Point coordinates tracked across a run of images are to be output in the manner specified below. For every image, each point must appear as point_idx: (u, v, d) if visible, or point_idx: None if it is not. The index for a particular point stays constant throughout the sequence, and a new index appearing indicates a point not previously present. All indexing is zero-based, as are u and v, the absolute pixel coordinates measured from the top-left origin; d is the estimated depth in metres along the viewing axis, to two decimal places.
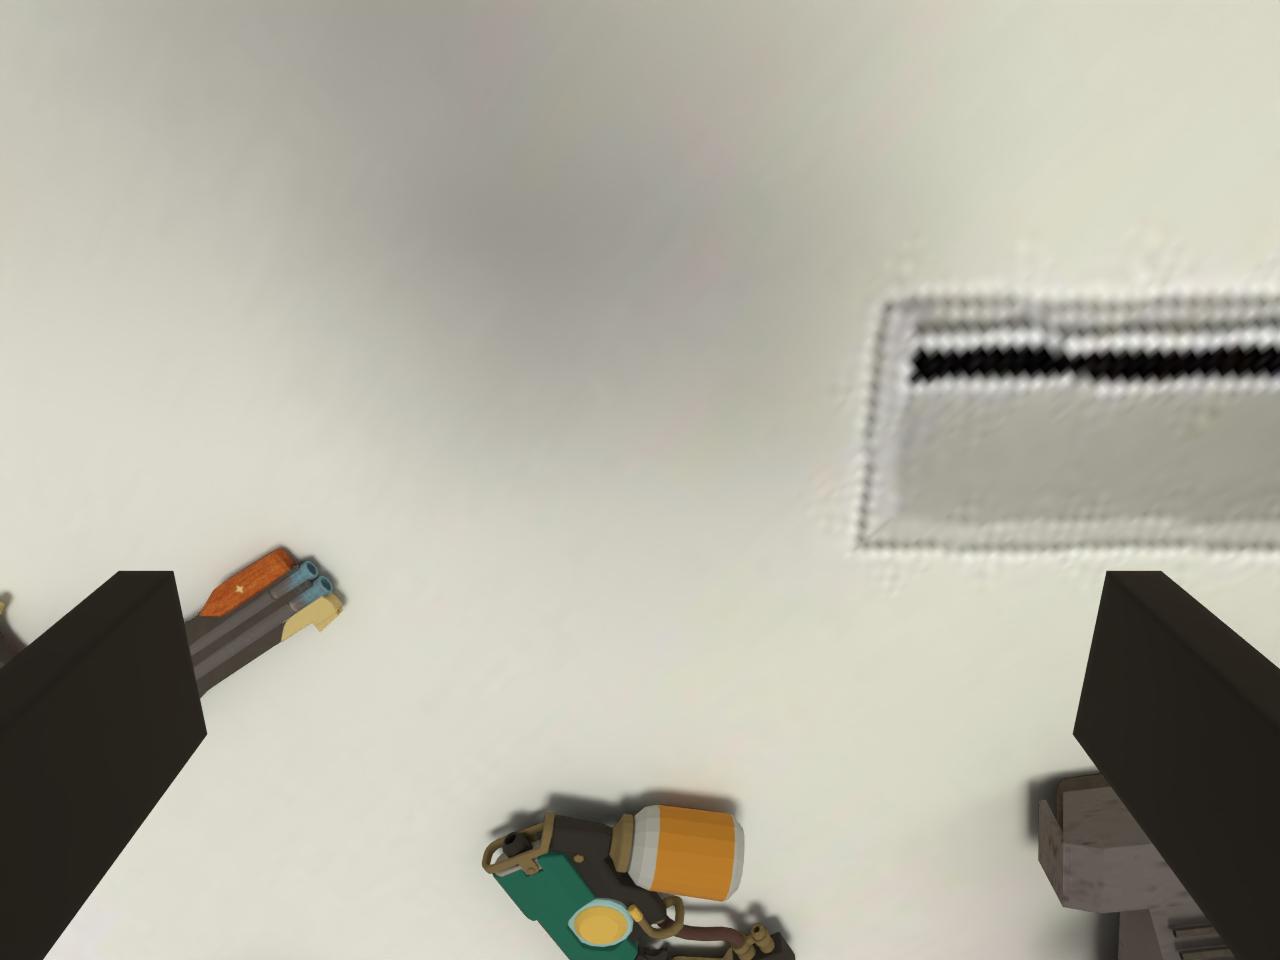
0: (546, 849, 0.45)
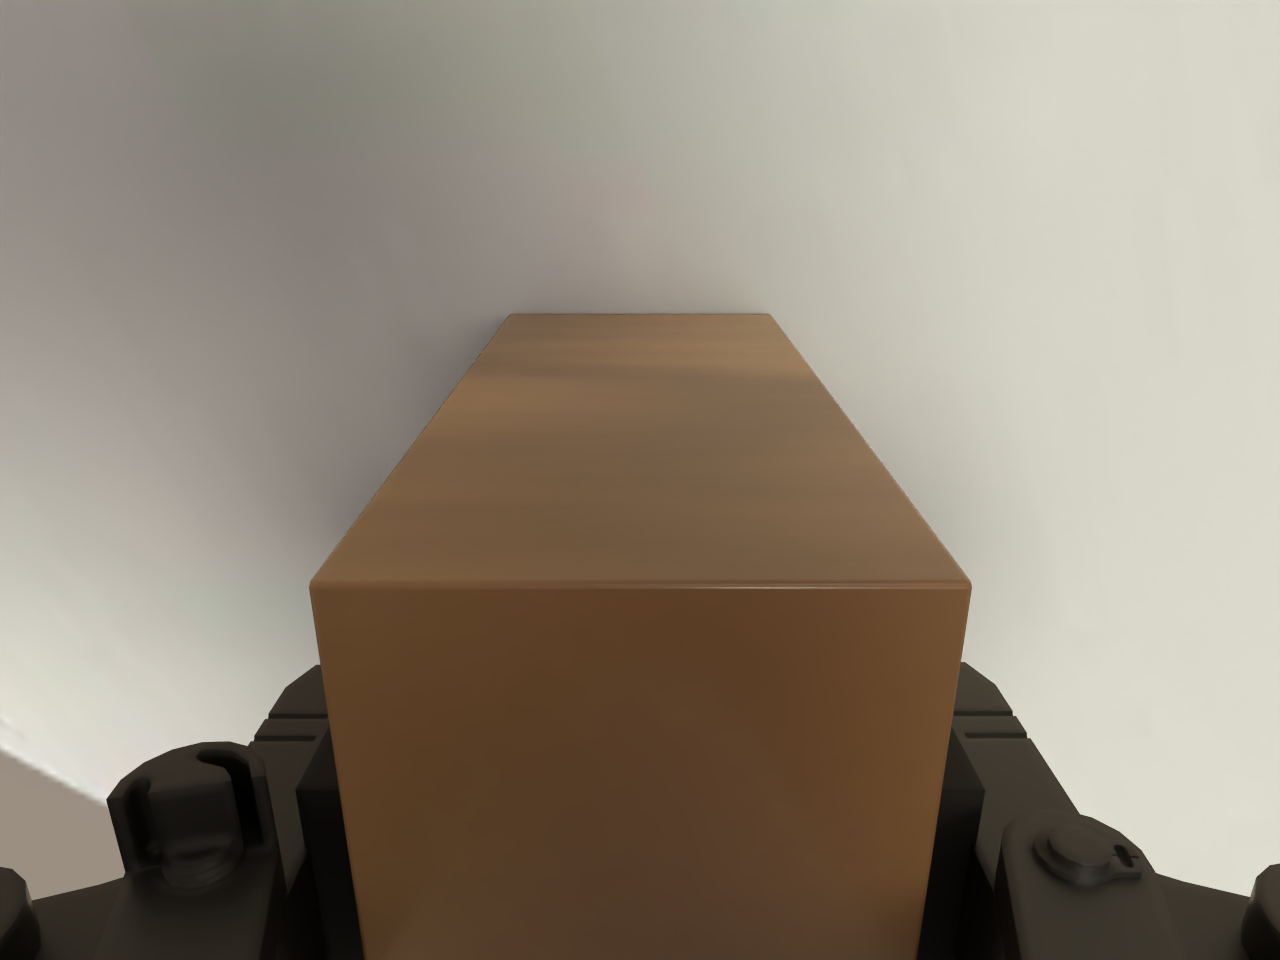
0: None
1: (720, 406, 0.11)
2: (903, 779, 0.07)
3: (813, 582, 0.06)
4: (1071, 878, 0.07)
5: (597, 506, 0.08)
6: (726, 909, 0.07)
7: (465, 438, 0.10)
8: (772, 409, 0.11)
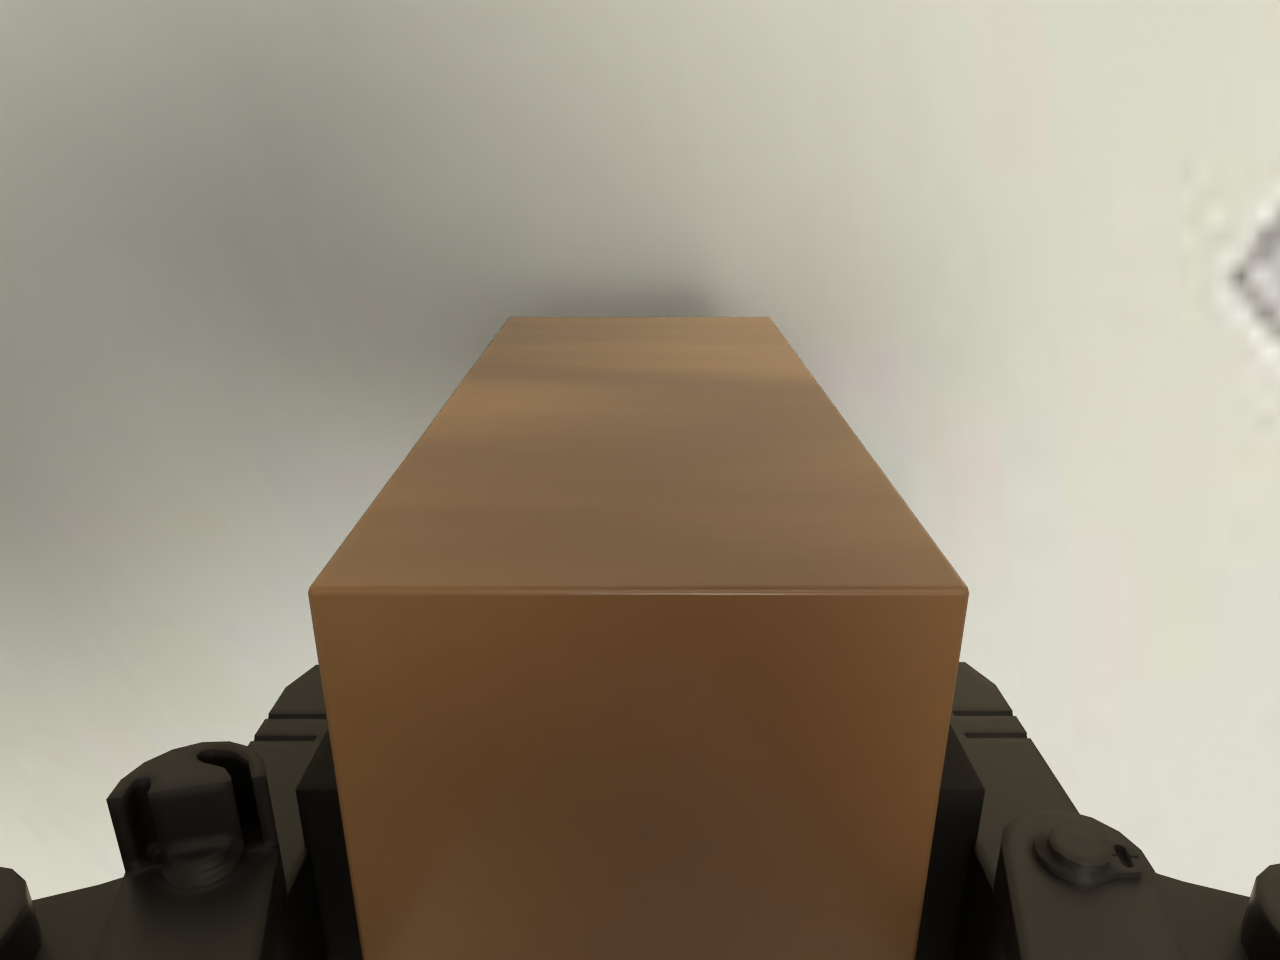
0: None
1: (719, 411, 0.11)
2: (900, 784, 0.07)
3: (809, 589, 0.06)
4: (1072, 877, 0.07)
5: (595, 512, 0.08)
6: (726, 913, 0.08)
7: (464, 442, 0.10)
8: (770, 413, 0.11)
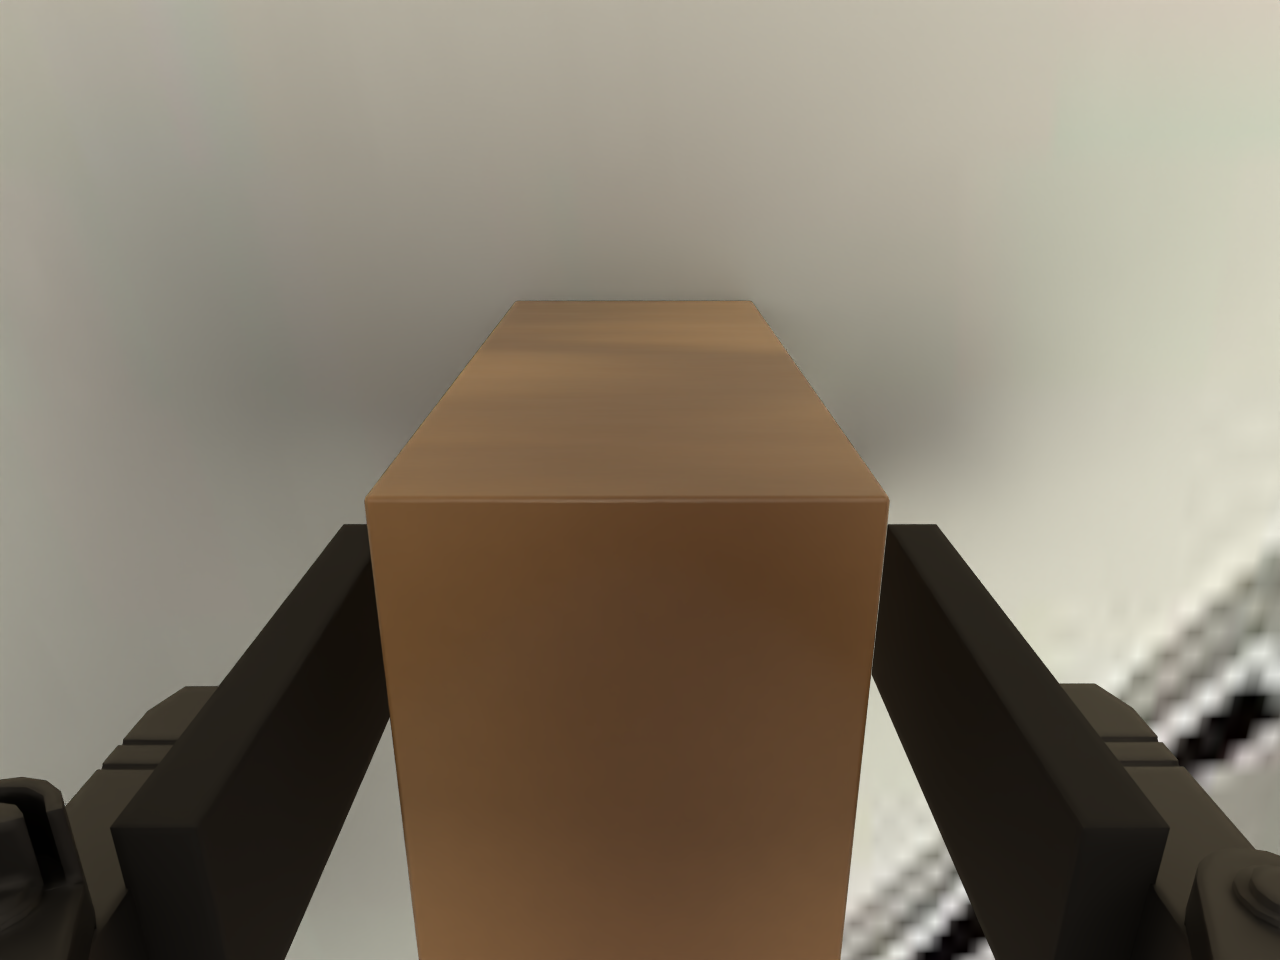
0: None
1: (700, 375, 0.12)
2: (839, 661, 0.09)
3: (762, 498, 0.08)
4: (1278, 923, 0.07)
5: (592, 446, 0.09)
6: (699, 773, 0.09)
7: (481, 398, 0.11)
8: (744, 376, 0.12)
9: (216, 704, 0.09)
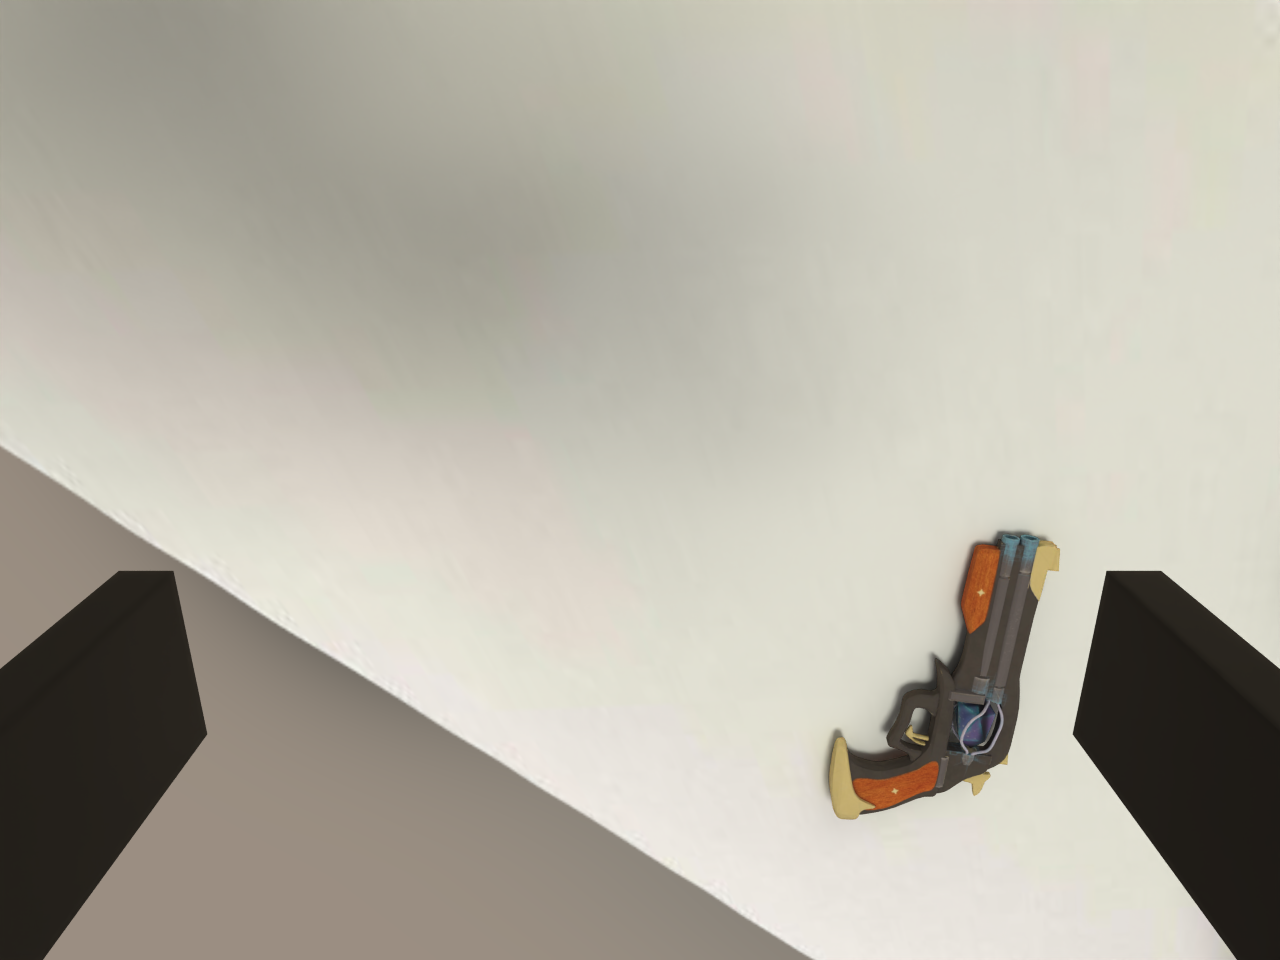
0: None
1: None
2: None
3: None
4: None
5: None
6: None
7: None
8: None
9: None
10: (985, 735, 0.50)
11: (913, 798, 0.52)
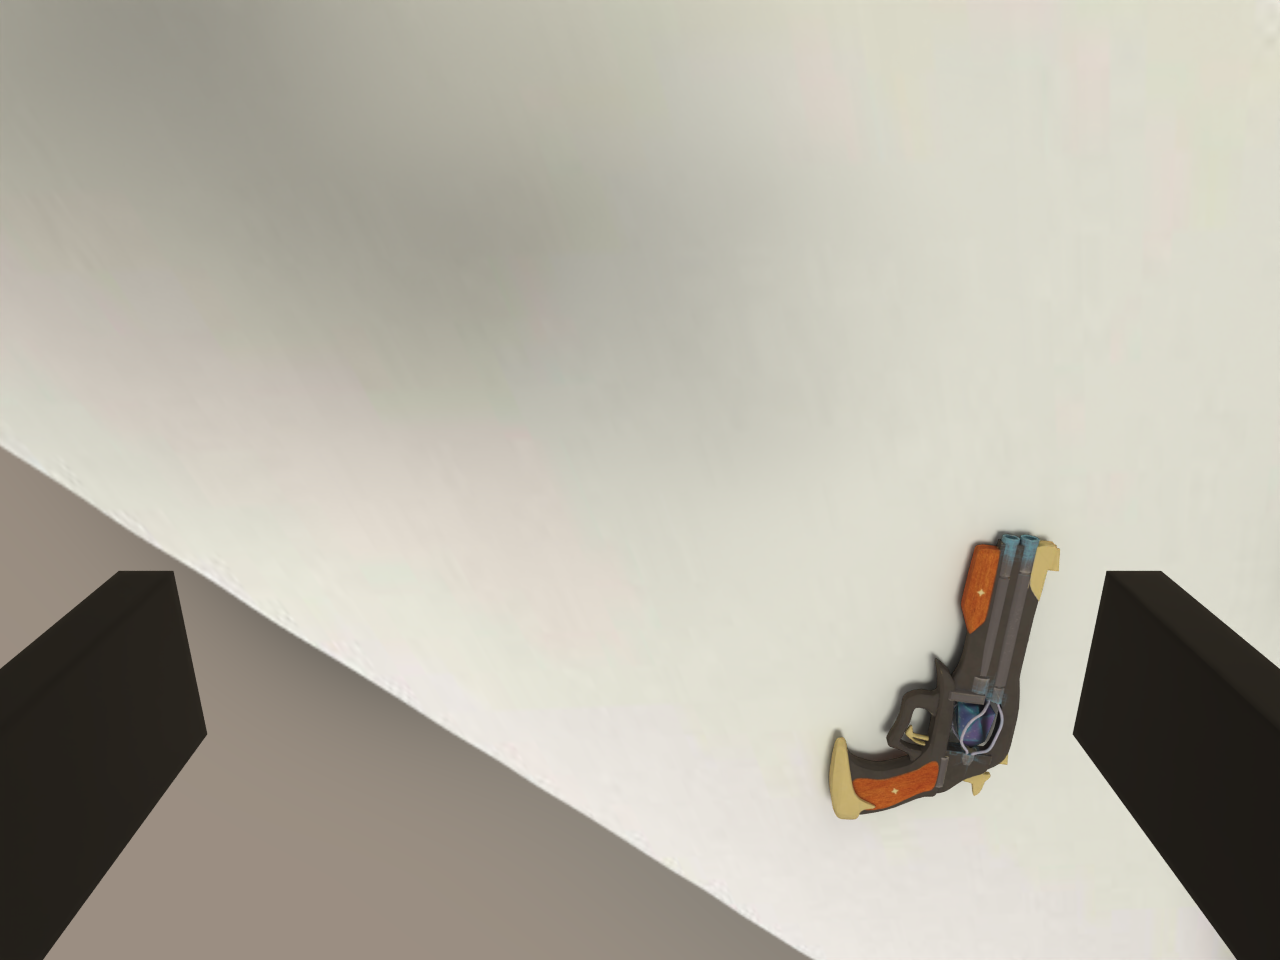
0: None
1: None
2: None
3: None
4: None
5: None
6: None
7: None
8: None
9: None
10: (985, 735, 0.50)
11: (913, 798, 0.52)
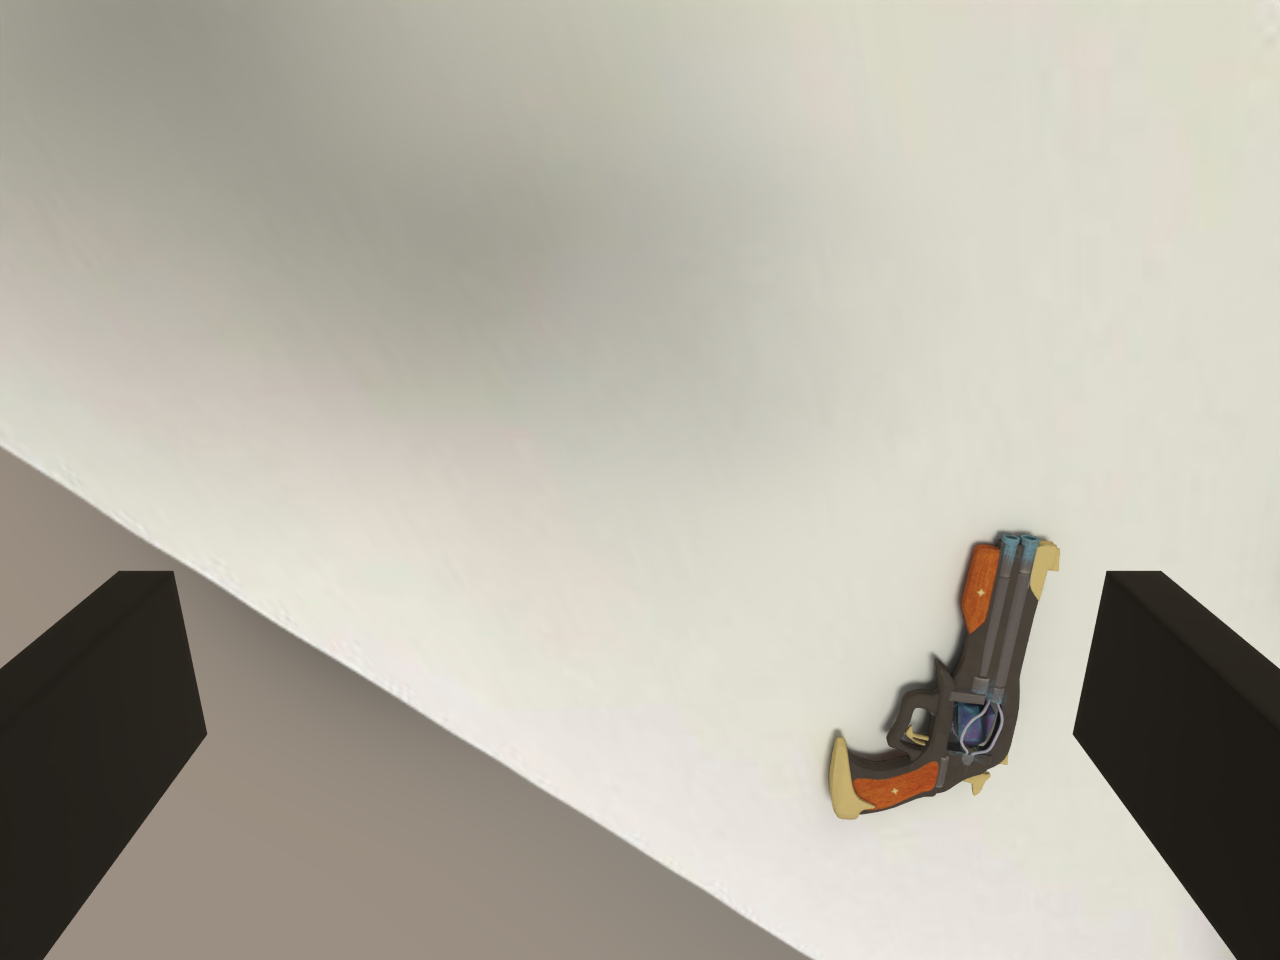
0: None
1: None
2: None
3: None
4: None
5: None
6: None
7: None
8: None
9: None
10: (985, 735, 0.50)
11: (913, 798, 0.52)
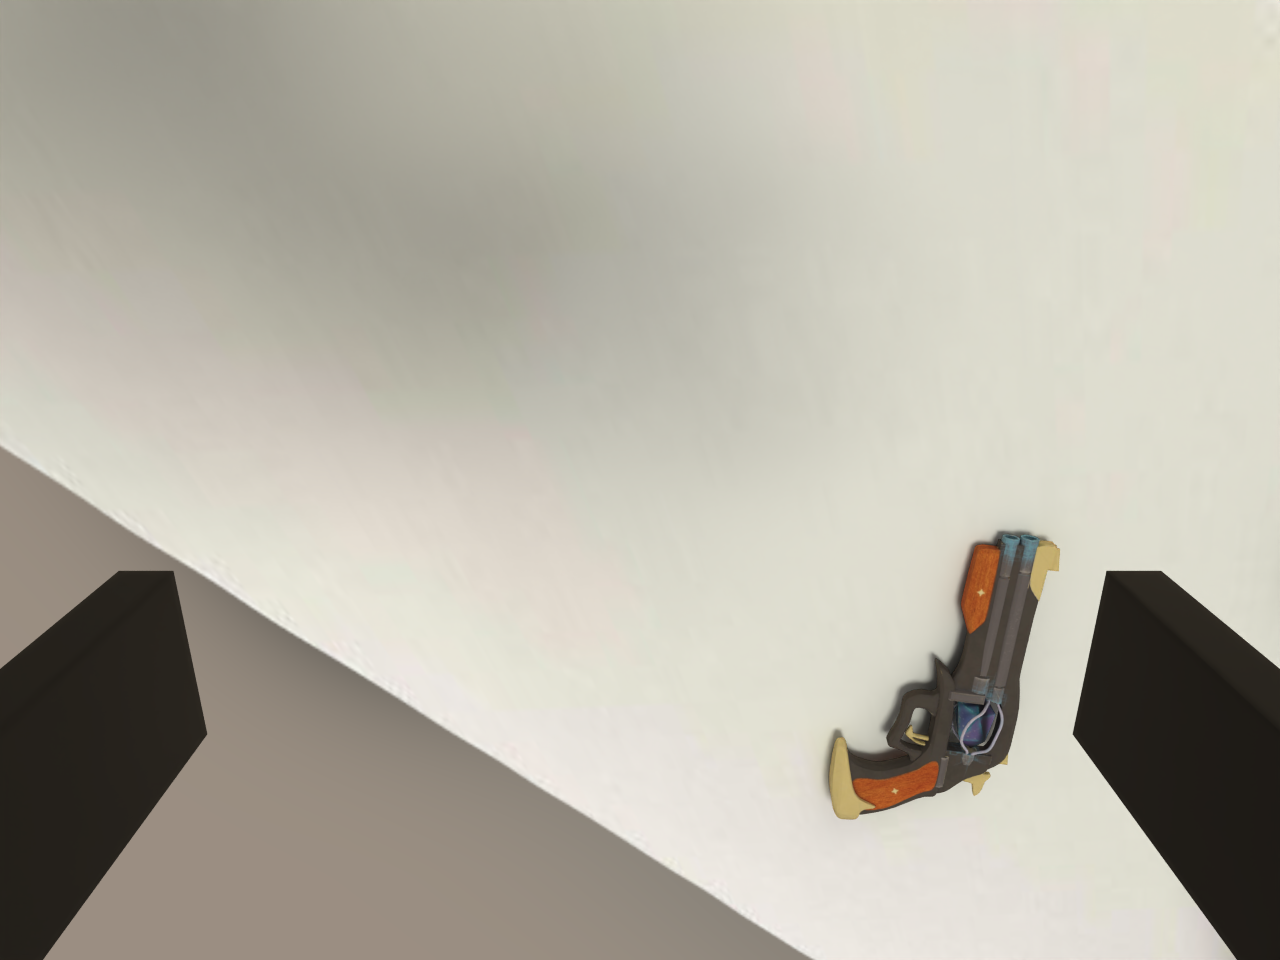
0: None
1: None
2: None
3: None
4: None
5: None
6: None
7: None
8: None
9: None
10: (985, 735, 0.50)
11: (913, 798, 0.52)
